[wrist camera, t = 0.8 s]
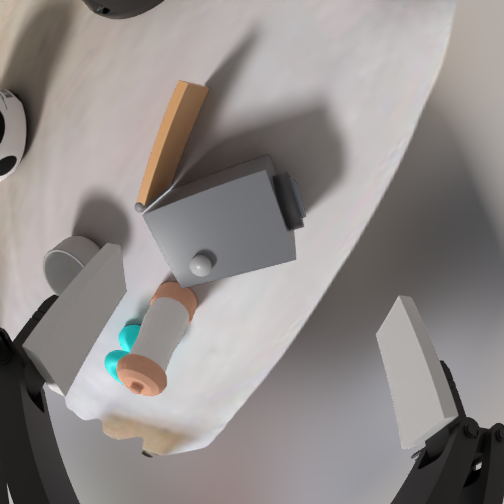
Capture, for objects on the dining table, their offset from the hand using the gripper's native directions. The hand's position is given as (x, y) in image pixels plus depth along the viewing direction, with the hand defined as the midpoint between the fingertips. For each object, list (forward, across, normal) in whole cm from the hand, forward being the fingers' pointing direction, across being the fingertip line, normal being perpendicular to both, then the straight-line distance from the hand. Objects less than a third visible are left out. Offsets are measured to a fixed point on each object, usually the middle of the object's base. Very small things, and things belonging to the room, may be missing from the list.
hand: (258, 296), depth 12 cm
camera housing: (+25, -3, -6) cm, 26 cm away
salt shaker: (+24, -12, -24) cm, 37 cm away
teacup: (+25, -28, -21) cm, 43 cm away
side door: (+25, -11, +1) cm, 27 cm away
